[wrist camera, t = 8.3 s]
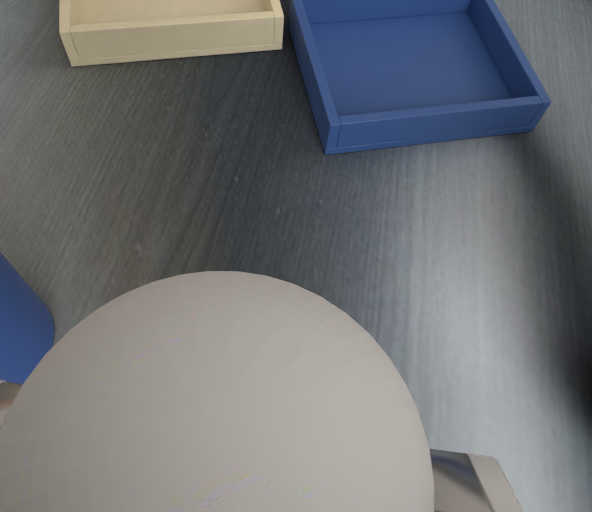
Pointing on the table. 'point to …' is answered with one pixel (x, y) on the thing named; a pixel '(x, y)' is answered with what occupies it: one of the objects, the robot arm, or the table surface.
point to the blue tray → (412, 72)
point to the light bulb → (215, 409)
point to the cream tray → (166, 29)
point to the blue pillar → (21, 326)
